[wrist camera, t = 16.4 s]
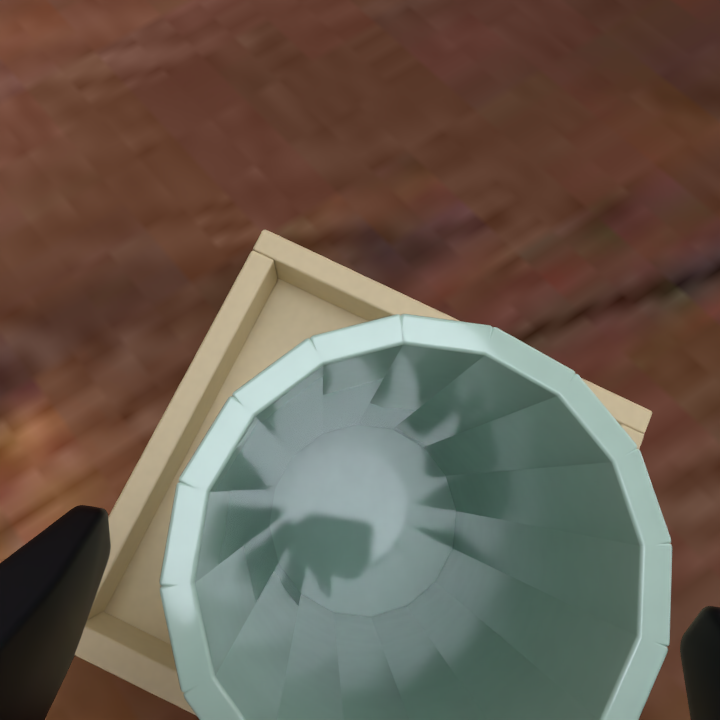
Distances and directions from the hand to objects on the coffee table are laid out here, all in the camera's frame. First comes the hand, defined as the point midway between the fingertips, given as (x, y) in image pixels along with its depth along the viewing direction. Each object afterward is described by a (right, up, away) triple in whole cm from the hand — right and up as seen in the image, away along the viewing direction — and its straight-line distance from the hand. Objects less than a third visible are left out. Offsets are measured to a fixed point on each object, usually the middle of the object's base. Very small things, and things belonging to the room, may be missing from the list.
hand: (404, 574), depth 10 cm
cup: (-1, -2, +12) cm, 12 cm away
